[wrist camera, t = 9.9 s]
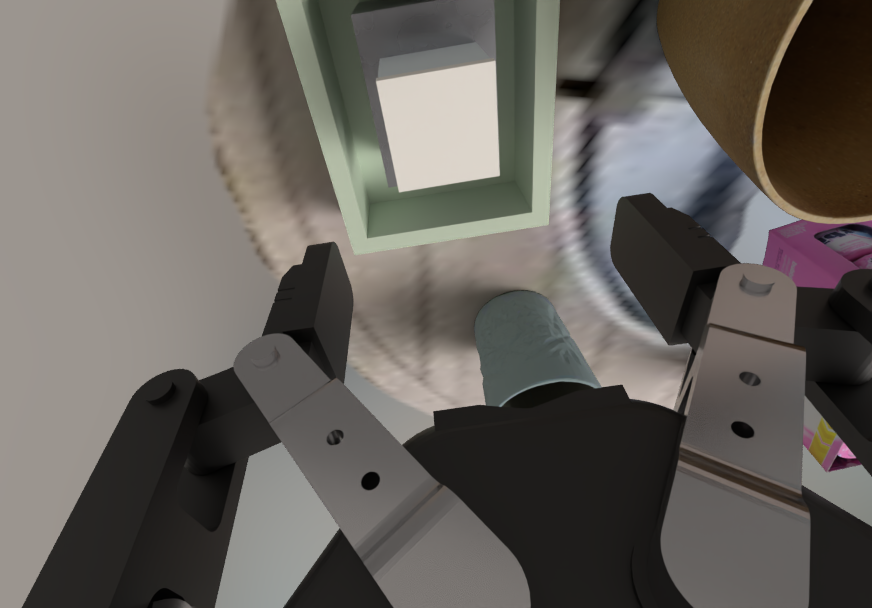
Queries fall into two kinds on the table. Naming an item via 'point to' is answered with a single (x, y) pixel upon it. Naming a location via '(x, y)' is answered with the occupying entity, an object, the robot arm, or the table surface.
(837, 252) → the gum box
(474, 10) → the tin block
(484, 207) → the tote
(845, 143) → the plant pot
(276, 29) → the table surface
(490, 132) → the off-white carton
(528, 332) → the teal cup
